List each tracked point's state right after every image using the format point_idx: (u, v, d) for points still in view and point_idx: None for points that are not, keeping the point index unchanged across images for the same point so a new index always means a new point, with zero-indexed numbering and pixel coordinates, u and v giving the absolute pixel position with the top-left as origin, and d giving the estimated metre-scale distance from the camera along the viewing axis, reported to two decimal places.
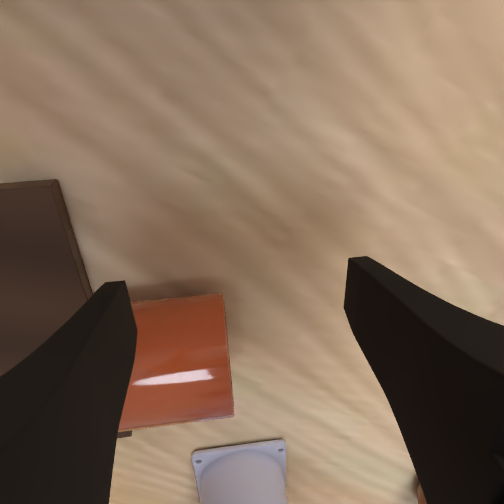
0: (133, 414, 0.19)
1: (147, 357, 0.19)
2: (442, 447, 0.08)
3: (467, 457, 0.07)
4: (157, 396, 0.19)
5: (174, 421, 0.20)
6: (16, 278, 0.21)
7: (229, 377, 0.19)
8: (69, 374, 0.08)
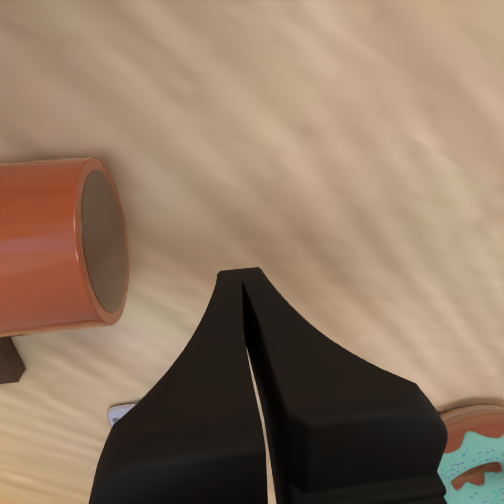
0: None
1: None
2: (278, 471, 0.08)
3: (283, 484, 0.07)
4: None
5: (7, 322, 0.14)
6: None
7: (76, 249, 0.13)
8: None
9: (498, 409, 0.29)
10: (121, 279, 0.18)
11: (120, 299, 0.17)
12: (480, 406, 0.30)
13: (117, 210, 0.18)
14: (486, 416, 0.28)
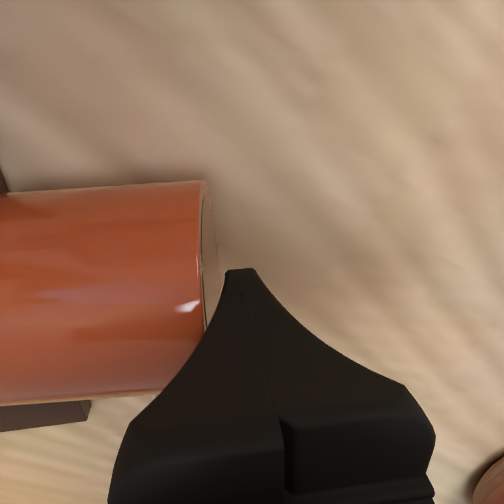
0: (20, 372, 0.10)
1: (44, 264, 0.10)
2: None
3: None
4: (60, 338, 0.10)
5: (103, 390, 0.11)
6: None
7: (200, 309, 0.10)
8: (258, 352, 0.08)
9: None
10: None
11: None
12: None
13: (214, 238, 0.15)
14: None
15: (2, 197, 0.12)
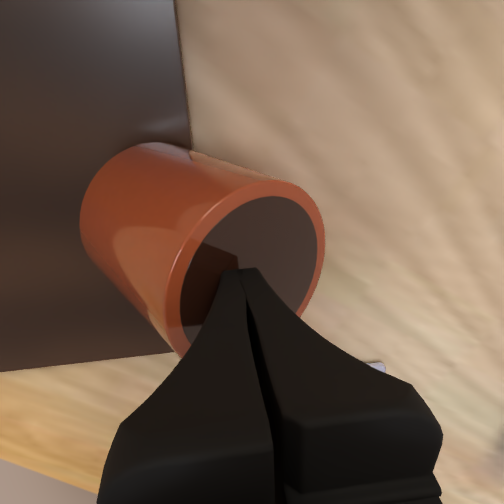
0: (104, 265, 0.15)
1: (127, 201, 0.13)
2: (274, 471, 0.08)
3: (279, 485, 0.07)
4: (114, 255, 0.13)
5: (136, 309, 0.14)
6: (109, 104, 0.17)
7: (166, 284, 0.11)
8: (252, 353, 0.08)
9: None
10: None
11: None
12: None
13: (309, 247, 0.14)
14: None
15: (162, 148, 0.16)
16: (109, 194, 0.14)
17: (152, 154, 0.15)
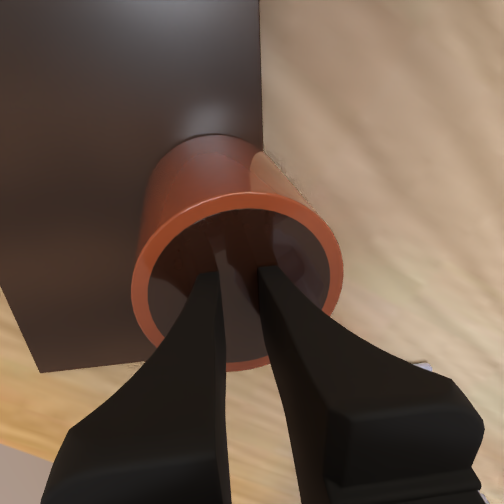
0: None
1: (157, 187, 0.14)
2: (306, 467, 0.08)
3: (315, 479, 0.07)
4: None
5: None
6: (185, 101, 0.17)
7: (134, 270, 0.11)
8: (215, 357, 0.08)
9: None
10: (260, 343, 0.14)
11: (236, 357, 0.14)
12: None
13: (317, 274, 0.13)
14: None
15: (218, 142, 0.16)
16: (156, 178, 0.16)
17: (203, 147, 0.16)
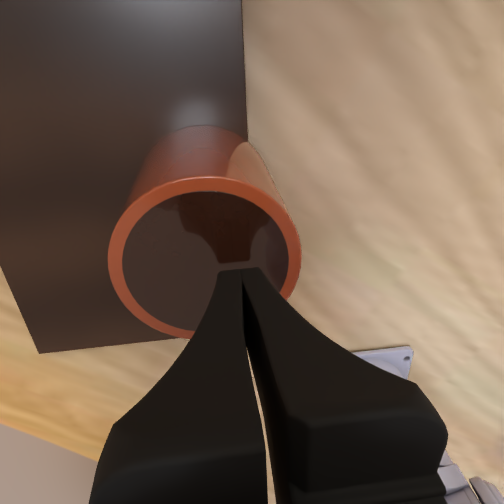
0: None
1: (141, 171, 0.16)
2: (278, 471, 0.08)
3: (284, 484, 0.07)
4: None
5: None
6: (174, 94, 0.18)
7: (110, 242, 0.13)
8: (246, 354, 0.08)
9: None
10: None
11: None
12: None
13: (276, 253, 0.14)
14: None
15: (202, 132, 0.17)
16: (143, 163, 0.17)
17: (187, 136, 0.17)
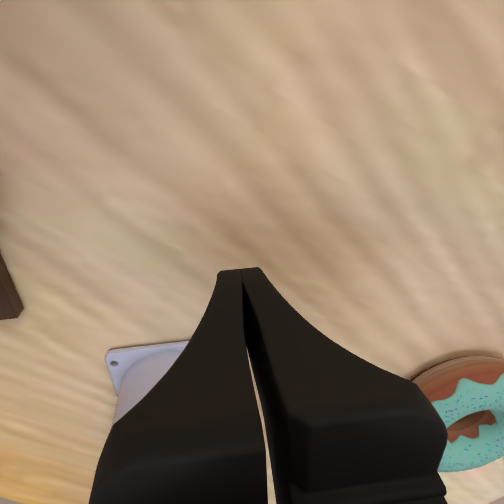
0: None
1: None
2: (278, 471, 0.08)
3: (283, 484, 0.07)
4: None
5: None
6: None
7: None
8: (246, 353, 0.08)
9: (492, 359, 0.30)
10: None
11: None
12: (475, 356, 0.30)
13: None
14: (480, 365, 0.29)
15: None
16: None
17: None
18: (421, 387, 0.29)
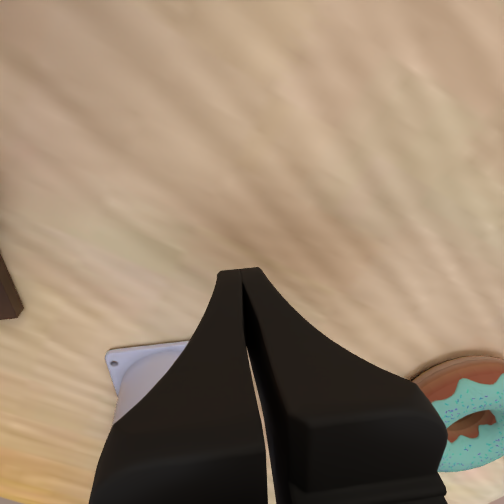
0: None
1: None
2: (278, 471, 0.08)
3: (283, 484, 0.07)
4: None
5: None
6: None
7: None
8: None
9: (492, 359, 0.30)
10: None
11: None
12: (475, 356, 0.30)
13: None
14: (480, 365, 0.29)
15: None
16: None
17: None
18: (421, 387, 0.29)
